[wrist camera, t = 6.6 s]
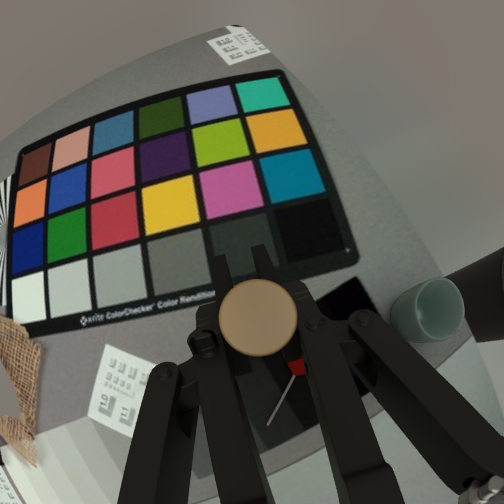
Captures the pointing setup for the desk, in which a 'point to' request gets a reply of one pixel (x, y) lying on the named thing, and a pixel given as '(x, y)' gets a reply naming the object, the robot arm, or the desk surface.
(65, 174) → the desk surface
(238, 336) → the stick
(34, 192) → the desk surface
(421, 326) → the cup
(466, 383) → the desk surface
